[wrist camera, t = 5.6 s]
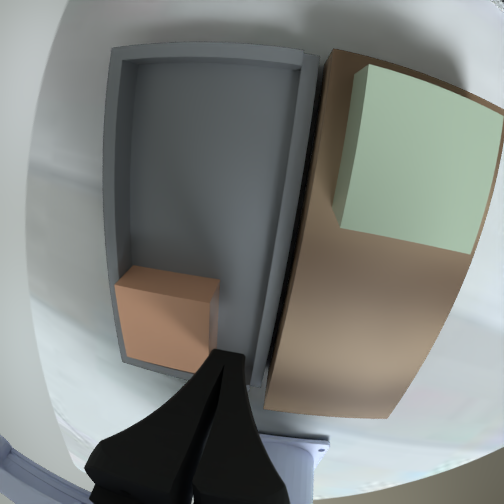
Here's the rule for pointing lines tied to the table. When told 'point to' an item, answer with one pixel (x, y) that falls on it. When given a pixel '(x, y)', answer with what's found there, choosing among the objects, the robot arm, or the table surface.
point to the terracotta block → (168, 317)
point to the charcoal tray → (208, 176)
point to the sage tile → (415, 161)
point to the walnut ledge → (357, 284)
